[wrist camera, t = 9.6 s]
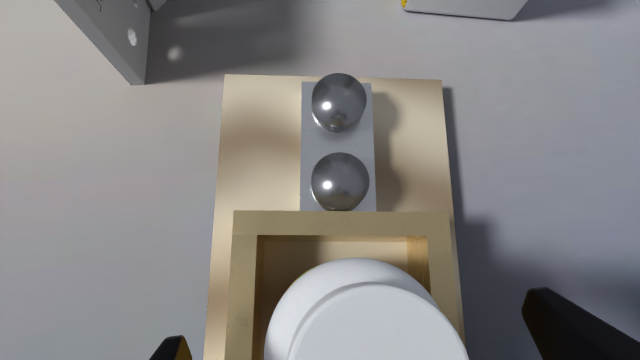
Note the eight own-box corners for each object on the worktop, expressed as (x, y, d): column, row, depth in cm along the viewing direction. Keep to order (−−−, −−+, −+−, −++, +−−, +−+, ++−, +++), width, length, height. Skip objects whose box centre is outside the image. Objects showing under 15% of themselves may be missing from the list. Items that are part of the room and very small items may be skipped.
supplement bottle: (340, 238, 18) (385, 201, 8) (417, 326, 17) (563, 394, 8) (254, 316, 17) (193, 372, 7) (332, 413, 16) (376, 620, 6)
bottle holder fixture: (454, 629, 14) (493, 720, 11) (222, 639, 14) (201, 737, 11) (416, 95, 20) (435, 65, 17) (251, 91, 20) (242, 59, 17)
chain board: (482, 635, 15) (495, 660, 14) (187, 649, 14) (179, 676, 13) (434, 88, 21) (441, 79, 20) (228, 83, 21) (224, 74, 20)
